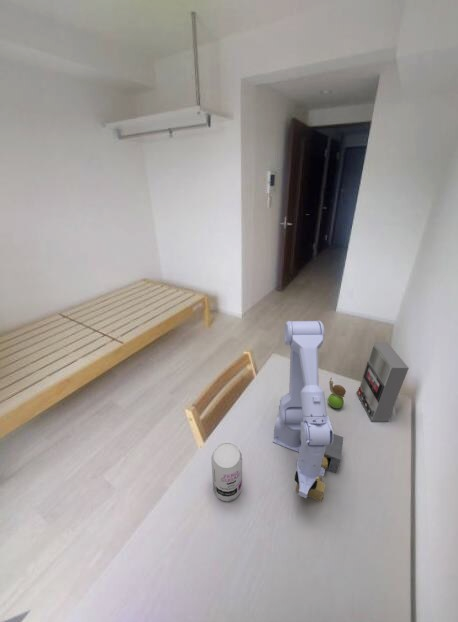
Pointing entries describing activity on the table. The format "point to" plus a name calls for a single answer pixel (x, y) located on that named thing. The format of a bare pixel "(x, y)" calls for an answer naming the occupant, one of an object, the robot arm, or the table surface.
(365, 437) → the table surface
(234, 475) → the supplement can
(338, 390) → the snail figurine
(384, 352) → the cassette tape recorder
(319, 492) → the plunger with bar handle
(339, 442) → the bore block
